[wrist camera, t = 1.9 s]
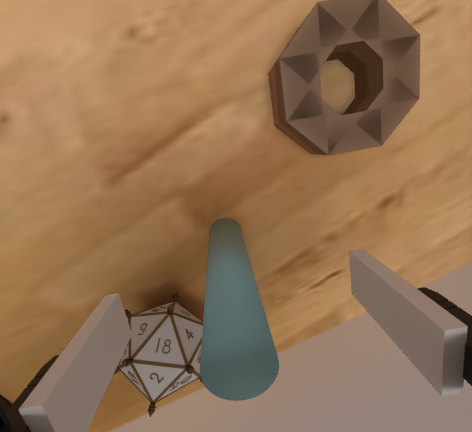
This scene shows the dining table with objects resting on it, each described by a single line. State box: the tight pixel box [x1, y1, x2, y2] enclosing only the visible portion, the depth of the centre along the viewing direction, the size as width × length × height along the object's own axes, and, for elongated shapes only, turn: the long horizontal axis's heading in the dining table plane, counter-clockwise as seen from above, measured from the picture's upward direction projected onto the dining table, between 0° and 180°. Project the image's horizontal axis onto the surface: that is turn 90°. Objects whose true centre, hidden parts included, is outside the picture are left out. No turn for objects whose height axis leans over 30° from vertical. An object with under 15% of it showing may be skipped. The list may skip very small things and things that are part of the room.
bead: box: [268, 0, 420, 155], centre depth 21 cm, size 10×10×4 cm
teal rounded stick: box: [200, 218, 279, 401], centre depth 18 cm, size 3×3×16 cm
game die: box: [114, 293, 203, 417], centre depth 24 cm, size 9×8×10 cm
